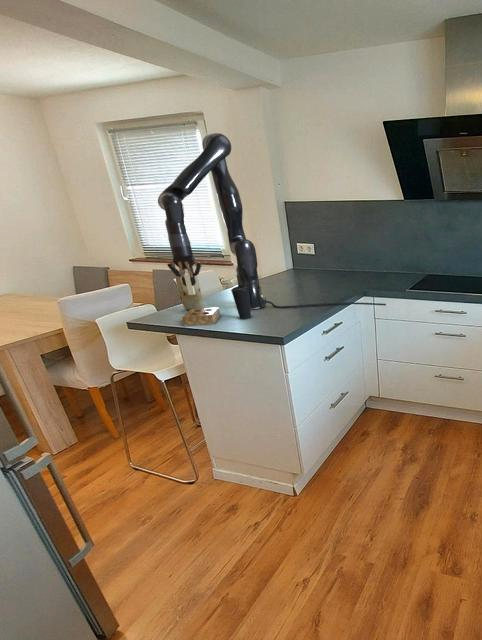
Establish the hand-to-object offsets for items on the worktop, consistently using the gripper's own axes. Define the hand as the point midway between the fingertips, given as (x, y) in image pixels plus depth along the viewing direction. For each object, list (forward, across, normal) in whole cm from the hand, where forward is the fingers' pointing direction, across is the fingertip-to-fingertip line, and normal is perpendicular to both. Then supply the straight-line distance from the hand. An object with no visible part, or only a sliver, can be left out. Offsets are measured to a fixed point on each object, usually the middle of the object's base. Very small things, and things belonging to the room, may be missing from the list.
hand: (190, 285), depth 167 cm
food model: (+16, -6, +17) cm, 24 cm away
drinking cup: (+16, +21, -2) cm, 26 cm away
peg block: (+16, +3, -3) cm, 16 cm away
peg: (+4, 0, 0) cm, 4 cm away
